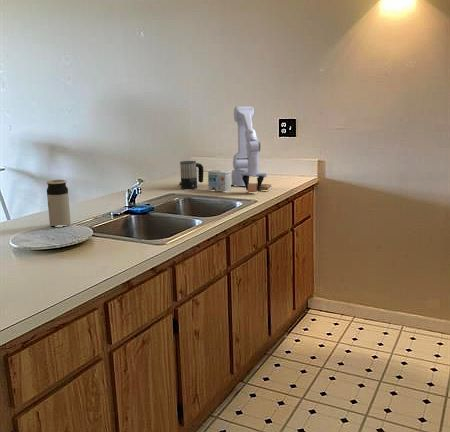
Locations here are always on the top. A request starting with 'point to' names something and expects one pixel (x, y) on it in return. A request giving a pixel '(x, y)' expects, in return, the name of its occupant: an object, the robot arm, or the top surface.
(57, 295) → the top surface
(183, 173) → the milk frother
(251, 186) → the block
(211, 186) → the light bulb box
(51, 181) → the travel mug
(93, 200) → the top surface
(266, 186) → the plinth
